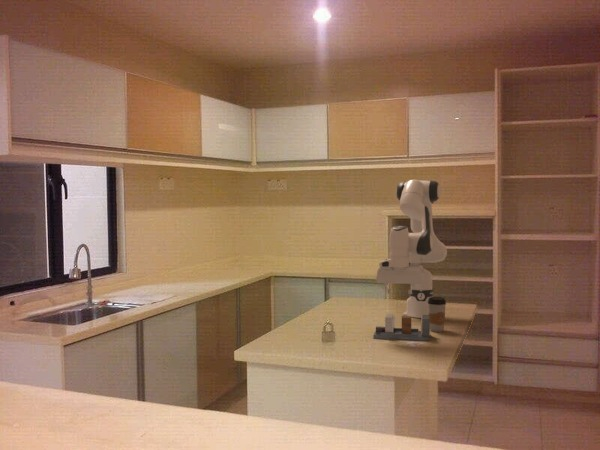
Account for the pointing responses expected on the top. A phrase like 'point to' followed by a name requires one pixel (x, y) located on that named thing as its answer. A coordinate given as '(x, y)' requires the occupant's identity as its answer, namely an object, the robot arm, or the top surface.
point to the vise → (414, 335)
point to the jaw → (387, 324)
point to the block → (406, 324)
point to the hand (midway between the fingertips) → (399, 293)
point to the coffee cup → (437, 313)
